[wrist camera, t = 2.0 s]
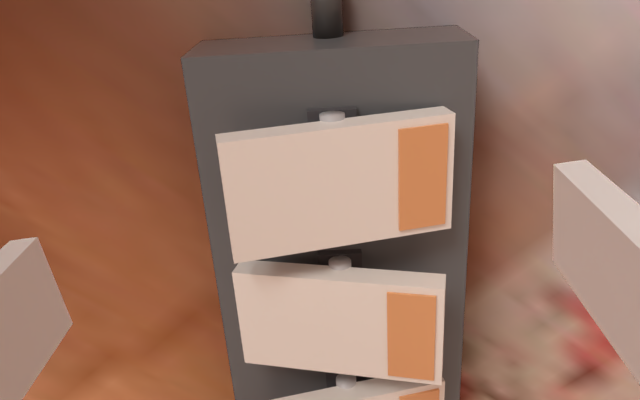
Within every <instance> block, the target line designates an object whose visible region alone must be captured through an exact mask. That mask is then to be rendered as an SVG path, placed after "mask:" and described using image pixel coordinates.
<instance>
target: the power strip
mask: <svg viewBox="0 0 640 400" xmlns="http://www.w3.org/2000/svg"><path fill="white" fill-rule="evenodd" d="M311 13H312V29H313V34H302V35H286V36H269V37H253V38H237V39H220V40H204V41H200V42H199V43H198V44H197V45H196V46H194V47H193V48H192V49H191V50H190V51H188V52H187V53H186V54H185V55H184V56H182V57H181V63H182V69H183V76H184V82H185V88H186V95H187V101H188V107H189V113H190V120H191V126H192V132H193V138H194V145H195V151H196V157H197V163H198V170H199V176H200V182H201V189H202V195H203V201H204V207H205V214H206V220H207V226H208V232H209V239H210V245H211V251H212V258H213V264H214V270H215V276H216V283H217V289H218V295H219V301H220V308H221V314H222V320H223V326H224V333H225V339H226V345H227V352H228V358H229V364H230V370H231V377H232V383H233V389H234V395H235V400H272V399H277V398H282V397H287V396H291V395H296V394H301V393H306V392H311V391H316V390H320V389H325V388H330V387H335V386H336V377H337V375H338V373H329V372H321V371H312V370H303V369H295V368H286V367H278V366H269V365H261V364H252V363H245V360H244V353H243V347H242V340H241V333H240V326H239V319H238V312H237V305H236V298H235V292H234V285H233V278H232V272H233V270H234V269H235V267H236V266H237V265H238V263H236V264H234V261H233V255H232V249H231V242H230V235H229V228H228V221H227V214H226V207H225V200H224V193H223V186H222V179H221V172H220V165H219V158H218V151H217V144H216V137H215V134H220V133H228V132H236V131H244V130H252V129H260V128H268V127H276V126H284V125H293V124H301V123H309V122H317V121H320V119H319V114H320V113H322V112H326V111H342V112H344V113H345V118H349V117H357V116H365V115H373V114H382V113H390V112H398V111H406V110H414V109H422V108H430V107H438V106H444V107H446V108H448V109H449V110H451V111H453V112H454V113H456V116H455V141H454V167H453V193H452V218H451V228H450V229H444V230H437V231H431V232H425V233H419V234H413V235H407V236H401V237H395V238H389V239H382V240H376V241H370V242H364V243H358V244H352V245H346V246H340V247H334V248H327V249H321V250H315V251H309V252H303V253H297V254H291V255H285V256H279V257H272V258H266V259H260V260H257V261H271V262H285V263H299V264H313V265H327V266H329V262H328V261H329V259H330V258H332V257H334V256H339V255H343V256H347V257H349V258H350V259H351V267H355V268H369V269H383V270H397V271H411V272H425V273H438V274H446V290H445V317H444V345H443V370H442V377H443V379H444V380H445V397H444V400H460V384H461V365H462V346H463V328H464V309H465V290H466V272H467V253H468V235H469V216H470V197H471V179H472V160H473V141H474V123H475V104H476V86H477V67H478V48H479V40H478V39H477V38H475V37H474V36H472V35H471V34H469V33H468V32H466V31H465V30H463V29H462V28H460V27H459V26H457V25H449V26H433V27H417V28H400V29H384V30H368V31H351V32H343V18H342V0H311ZM369 379H373V378H372V377H363V376H356V382H359V381H364V380H369Z"/></svg>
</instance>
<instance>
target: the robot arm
mask: <svg viewBox="0 0 640 400" xmlns="http://www.w3.org/2000/svg"><path fill="white" fill-rule="evenodd" d="M553 263H554V264H555V266H556V267H557V269H558V270H559V271H560V273H561V274H562V276H563V277H564V279H565V280H566V281H567V283H568V284H569V286H570V287H571V288H572V290H573V291H574V293H575V294H576V296H577V297H578V298H579V300H580V301H581V303H582V304H583V306H584V307H585V308H586V310H587V311H588V313H589V314H590V315H591V317H592V318H593V320H594V321H595V323H596V324H597V325H598V327H599V328H600V330H601V331H602V332H603V334H604V335H605V337H606V338H607V340H608V341H609V342H610V344H611V345H612V347H613V348H614V350H615V351H616V352H617V354H618V355H619V357H620V358H621V359H622V361H623V362H624V364H625V365H626V367H627V368H628V369H629V371H630V372H631V374H632V375H633V376H634V378H635V379H636V381H637V382H638V384H639V385H640V205H639V204H638V203H637V202H636V201H635V200H633V199H632V198H631V197H630V196H629V195H627V194H626V193H625V192H624V191H623V190H621V189H620V188H619V187H618V186H617V185H616V184H614V183H613V182H612V181H611V180H610V179H608V178H607V177H606V176H605V175H604V174H602V173H601V172H600V171H599V170H598V169H597V168H595V167H594V166H593V165H592V164H591V163H589V162H588V161H587V160H579V161H572V162H565V163H558V164H553ZM72 324H73V323H72V320H71V318H70V315H69V313H68V310H67V308H66V306H65V303H64V301H63V298H62V296H61V293H60V291H59V288H58V286H57V284H56V281H55V279H54V276H53V274H52V271H51V269H50V266H49V264H48V261H47V259H46V257H45V254H44V252H43V249H42V247H41V244H40V242H39V239H38V237H33V238H26V239H19V240H12V241H9V242H8V243H7V244H6V245H5V246H4V247H2V248H1V249H0V400H22V399H23V398H24V396H25V395H26V393H27V392H28V390H29V389H30V387H31V386H32V384H33V383H34V381H35V380H36V378H37V377H38V375H39V374H40V372H41V371H42V369H43V368H44V366H45V365H46V363H47V362H48V360H49V359H50V357H51V356H52V354H53V353H54V351H55V350H56V348H57V347H58V345H59V344H60V342H61V341H62V339H63V338H64V336H65V335H66V333H67V332H68V330H69V329H70V327H71V326H72Z"/></svg>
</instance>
